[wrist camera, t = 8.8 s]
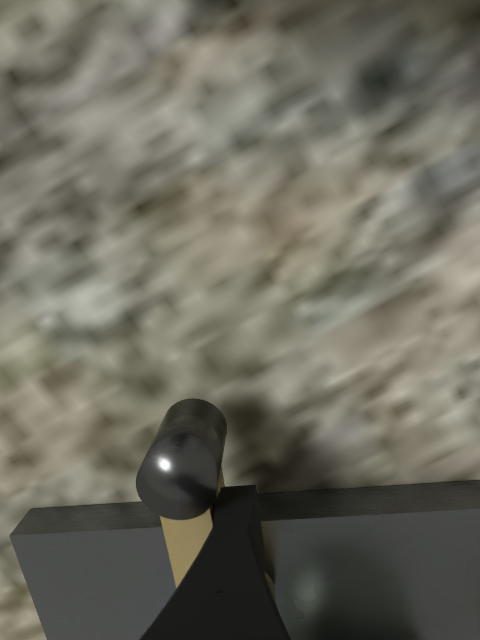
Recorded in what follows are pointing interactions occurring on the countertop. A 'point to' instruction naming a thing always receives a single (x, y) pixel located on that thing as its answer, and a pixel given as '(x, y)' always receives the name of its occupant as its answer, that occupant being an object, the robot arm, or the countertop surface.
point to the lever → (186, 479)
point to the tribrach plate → (274, 564)
